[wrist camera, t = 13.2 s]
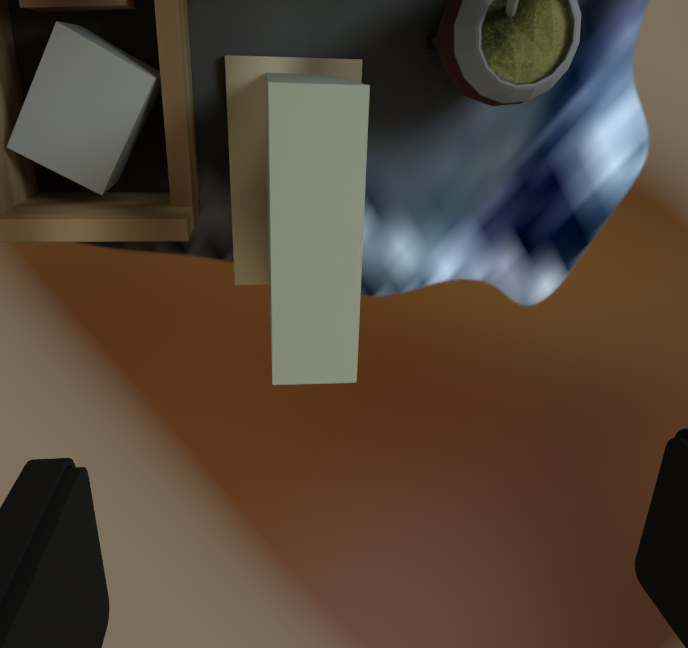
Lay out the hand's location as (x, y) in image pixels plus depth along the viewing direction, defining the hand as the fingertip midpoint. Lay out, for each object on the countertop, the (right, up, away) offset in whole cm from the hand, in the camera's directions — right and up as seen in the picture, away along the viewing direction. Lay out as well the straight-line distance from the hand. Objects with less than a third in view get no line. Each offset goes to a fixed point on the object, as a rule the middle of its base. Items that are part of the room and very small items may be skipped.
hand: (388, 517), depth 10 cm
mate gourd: (+7, +21, +28) cm, 35 cm away
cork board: (-4, +12, +30) cm, 32 cm away
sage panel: (-4, +12, +29) cm, 32 cm away
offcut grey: (-15, +16, +27) cm, 35 cm away
